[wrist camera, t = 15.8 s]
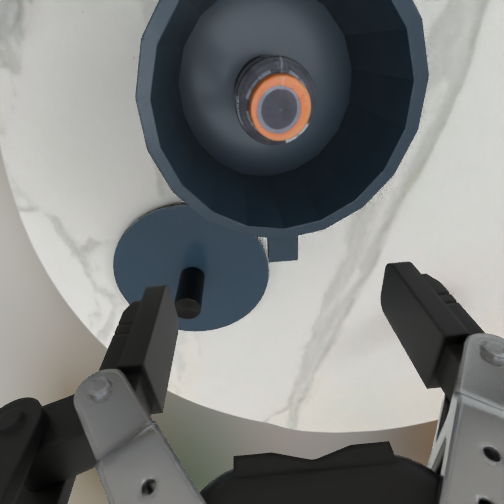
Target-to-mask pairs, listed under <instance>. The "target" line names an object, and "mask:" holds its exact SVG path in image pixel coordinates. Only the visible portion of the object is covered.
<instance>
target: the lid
mask: <svg viewBox="0 0 504 504" xmlns="http://www.w3.org/2000/svg"><path fill="white" fill-rule="evenodd" d="M113 268H114V276H115V279H116V283H117V285H118V287H119V290H120V292H121V293H122V295H123V296H124V298H125V299H126V300H127V302H128V303H129V304H131V303H132V302H134V301H141V299H142V297H143V294H144V291H145V289H146V287H147V286H156V285H166V284H167V285H169V287H170V290H171V294H172V297H173V301H174V305H175V308H176V312H177V316H178V330H184V331H206V330H213V329H218V328H221V327H224V326H227V325H230V324H232V323H234V322H236V321H238V320H240V319H241V318H243V317H244V316H246V315H247V314H248V313H249V312H250V311H251V310H252V309H253V308H254V307H255V306H256V305H257V304H258V302H259V301H260V300H261V298H262V296H263V294H264V292H265V289H266V286H267V282H268V272H269V270H268V262H267V257H266V254H265V251H264V249H263V247H262V244H261V243H260V241H259V240H258V238H257V237H254V236H244V235H241V234H239V233H236V232H234V231H231V230H229V229H227V228H224V227H222V226H219V225H217V224H214V223H212V222H209V221H207V220H205V219H204V218H203V217H202V216H200V215H199V214H198V213H197V212H196V211H195V210H193V209H192V208H191V207H190V206H189V205H188V204H184V205H173V206H167V207H163V208H160V209H157V210H154V211H152V212H150V213H147V214H146V215H144V216H142V217H141V218H139V219H138V220H137V221H135V222H134V223H133V224H132V225H131V226H130V227H129V228H128V229H127V230H126V231H125V233H124V234H123V236H122V237H121V239H120V241H119V243H118V245H117V248H116V250H115V255H114V262H113Z"/></svg>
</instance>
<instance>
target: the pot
mask: <svg viewBox="0 0 504 504" xmlns="http://www.w3.org/2000/svg"><path fill="white" fill-rule="evenodd" d="M261 55H276V56H285V57H288V58H291V59H293V60H295V61H297V62H298V63H300V64H301V65H302V66H303V67H304V68H305V69H306V70H307V71H308V73H309V75H310V76H311V78H312V80H313V83H314V86H315V91H316V107H315V112H314V115H313V118H312V120H311V122H310V124H309V125H308V127H307V128H306V129H305V131H304V132H303V133H302V134H301V135H300V136H298V137H297V138H296V139H294V140H292V141H290V142H288V143H286V144H282V145H266V144H262V143H260V142H258V141H256V140H254V139H253V138H251V137H250V136H249V135H248V134H247V133H246V132H245V131H244V129H243V128H242V126H241V125H240V122H239V120H238V117H237V114H236V109H235V102H234V87H235V81H236V78H237V76H238V74H239V72H240V70H241V69H242V67H243V66H244V65H245V64H246V63H247V62H248V61H249V60H251V59H253V58H255V57H257V56H261ZM428 76H429V73H428V65H427V56H426V48H425V40H424V31H423V23H422V18H421V15H420V14H419V12H418V10H417V8H416V6H415V4H414V2H413V0H159V2H158V4H157V6H156V8H155V10H154V12H153V14H152V16H151V19H150V21H149V23H148V25H147V27H146V29H145V31H144V33H143V35H142V38H141V46H140V56H139V66H138V76H137V86H136V96H135V97H136V103H137V107H138V111H139V116H140V120H141V124H142V129H143V133H144V138H145V142H146V146H147V150H148V152H149V154H150V155H151V157H152V159H153V160H154V162H155V163H156V165H157V167H158V168H159V170H160V172H161V173H162V175H163V177H164V178H165V180H166V182H167V183H168V185H169V187H170V188H171V190H172V191H173V193H175V194H176V195H177V196H178V197H179V198H180V199H182V200H183V201H184V202H185V203H186V204H188V205H189V206H190V207H191V208H192V209H193V210H195V211H196V212H197V213H198V214H199V215H200V216H202V217H203V218H204V219H205V220H207V221H209V222H212V223H214V224H217V225H219V226H222V227H224V228H227V229H229V230H231V231H234V232H236V233H239V234H241V235H244V236H254V237H267V241H268V258H269V262H279V261H291V260H297V259H298V235H302V234H306V233H311V232H315V231H319V230H323V229H326V228H327V227H329V226H331V225H333V224H334V223H336V222H338V221H340V220H341V219H343V218H345V217H347V216H348V215H350V214H352V213H354V212H355V211H357V210H359V209H360V208H362V207H363V206H364V205H365V204H366V203H367V202H368V201H369V200H370V199H371V198H372V197H373V196H374V195H375V194H376V193H377V192H378V191H379V190H380V189H381V188H382V187H383V186H384V185H385V184H386V182H387V181H388V180H389V179H390V178H391V177H392V176H393V175H394V174H395V172H396V170H397V168H398V166H399V164H400V162H401V161H402V159H403V157H404V155H405V153H406V151H407V149H408V147H409V146H410V144H411V142H412V140H413V138H414V136H415V134H416V132H417V130H418V127H419V122H420V117H421V112H422V107H423V102H424V97H425V92H426V87H427V82H428Z"/></svg>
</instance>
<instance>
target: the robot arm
mask: <svg viewBox="0 0 504 504" xmlns="http://www.w3.org/2000/svg"><path fill="white" fill-rule="evenodd" d="M381 306H382V310H383V312H384V314H385V316H386V318H387V319H388V321H389V323H390V325H391V326H392V328H393V330H394V332H395V333H396V335H397V337H398V339H399V340H400V342H401V344H402V346H403V347H404V349H405V351H406V353H407V354H408V356H409V358H410V360H411V361H412V363H413V365H414V367H415V368H416V370H417V372H418V374H419V375H420V377H421V379H422V381H423V382H424V384H425V386H426V388H427V389H428V388H439V387H441V388H442V390H443V392H444V393H445V395H444V398H443V401H442V406H441V411H440V415H439V420H438V425H437V429H436V434H435V439H434V444H433V448H432V452H431V456H430V459H429V462H428V465H427V467H426V466H424V465H422V464H421V463H419V462H416V461H414V460H412V459H409V458H406V457H403V456H400V455H395V454H394V453H393V450H392V448H391V445H390V443H389V441H388V442H378V443H368V444H357V445H350V446H347V447H345V448H342V449H340V450H337V451H335V452H333V453H330V454H328V455H325V456H323V457H321V458H318V459H314V460H310V459H303V458H298V457H292V456H287V455H281V454H276V453H263V454H253V455H243V456H234V469H232V470H229V471H227V472H225V473H223V474H222V475H220V476H219V477H217V478H215V479H214V480H213V481H211V482H210V483H209V484H208V485H207V486H206V487H205V488H204V489H202V491H201V492H200V493H199V491H198V490H197V488H196V486H195V485H194V483H193V481H192V480H191V478H190V477H189V475H188V473H187V472H186V470H185V469H184V467H183V465H182V464H181V462H180V460H179V459H178V457H177V456H176V454H175V452H174V451H173V449H172V447H171V446H170V444H169V443H168V441H167V439H166V438H165V436H164V435H163V433H162V431H161V430H160V428H159V427H158V425H157V424H156V422H155V421H152V419H151V414H156V413H162V412H163V408H164V402H165V397H166V392H167V387H168V382H169V377H170V371H171V366H172V361H173V356H174V351H175V345H176V340H177V335H178V316H177V312H176V308H175V305H174V301H173V297H172V294H171V290H170V287H169V285H167V284H166V285H156V286H147V287H146V289H145V291H144V294H143V297H142V299H141V301H134V302H132V303H131V304H130V305H129V307H128V308H127V309H126V310H125V311H124V312H123V314H122V316H121V319H120V321H119V326H117V328H116V331H115V335H114V336H113V338H112V341H111V343H110V345H109V348H108V350H107V353H106V355H105V357H104V360H103V362H102V365H101V367H100V369H99V371H98V372H96V373H95V374H92V375H91V376H89V377H88V378H87V379H86V380H84V381H83V382H82V383H81V385H80V386H79V387H78V389H77V390H76V393H75V394H74V395H71V396H69V397H67V398H64V399H61V400H58V401H56V402H53V403H50V404H47V405H45V406H41V404H40V403H39V401H38V400H36V399H34V398H21V399H17V400H15V401H12V402H10V403H9V404H7V405H5V406H3V407H2V408H0V504H67V503H68V500H69V497H70V494H71V491H72V487H73V484H74V481H75V478H76V475H78V474H80V473H82V472H85V471H87V470H89V469H92V468H93V467H96V470H97V473H98V476H99V478H100V481H101V483H102V486H103V488H104V491H105V494H106V496H107V499H108V501H109V504H504V339H503V338H501V337H498V336H496V335H492V334H486V333H485V332H484V331H483V330H482V329H481V328H480V327H479V326H478V325H477V323H476V322H475V321H474V320H473V319H472V318H471V317H470V315H469V314H468V313H467V312H466V311H465V310H464V309H463V308H462V306H461V305H460V304H459V303H457V302H456V300H455V299H454V297H453V296H452V295H451V294H449V292H448V291H447V290H446V288H445V287H444V286H443V285H442V284H441V283H440V282H439V281H437V280H436V279H434V278H432V277H431V276H429V275H427V274H421V273H420V272H419V271H418V270H417V269H416V267H415V266H414V265H413V264H412V263H411V262H399V263H389V264H387V265H386V268H385V273H384V279H383V285H382V291H381Z"/></svg>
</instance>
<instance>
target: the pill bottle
mask: <svg viewBox="0 0 504 504" xmlns="http://www.w3.org/2000/svg"><path fill="white" fill-rule="evenodd" d="M234 102H235V109H236V114H237V117H238V120H239V122H240V125H241V126H242V128H243V129H244V131H245V132H246V133H247V134H248V135H249V136H250V137H251V138H253V139H254V140H256V141H258V142H260V143H262V144H266V145H282V144H286V143H288V142H290V141H292V140H294V139H296V138H297V137H298V136H300V135H301V134H302V133H303V132H304V131H305V129H306V128H307V127H308V125H309V124H310V122H311V120H312V118H313V115H314V112H315V107H316V91H315V86H314V83H313V80H312V78H311V76H310V75H309V73H308V71H307V70H306V69H305V68H304V67H303V66H302V65H301V64H300V63H298V62H297V61H295V60H293V59H291V58H288V57H285V56H276V55H261V56H257V57H255V58H253V59H251V60H249V61H248V62H247V63H246V64H245V65H244V66H243V67H242V69H241V70H240V72H239V74H238V76H237V78H236V81H235V87H234Z"/></svg>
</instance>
